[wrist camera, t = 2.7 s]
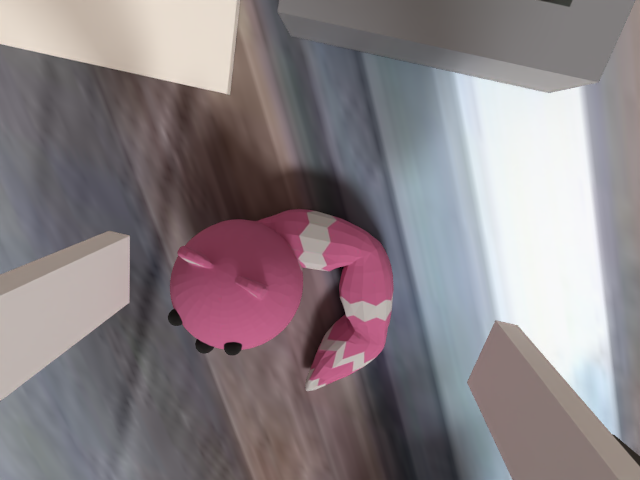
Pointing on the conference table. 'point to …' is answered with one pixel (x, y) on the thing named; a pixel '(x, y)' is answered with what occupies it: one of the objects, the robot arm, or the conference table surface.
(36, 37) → the paper sheet
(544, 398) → the robot arm
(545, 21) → the button housing
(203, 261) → the toy
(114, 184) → the conference table surface
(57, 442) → the conference table surface
